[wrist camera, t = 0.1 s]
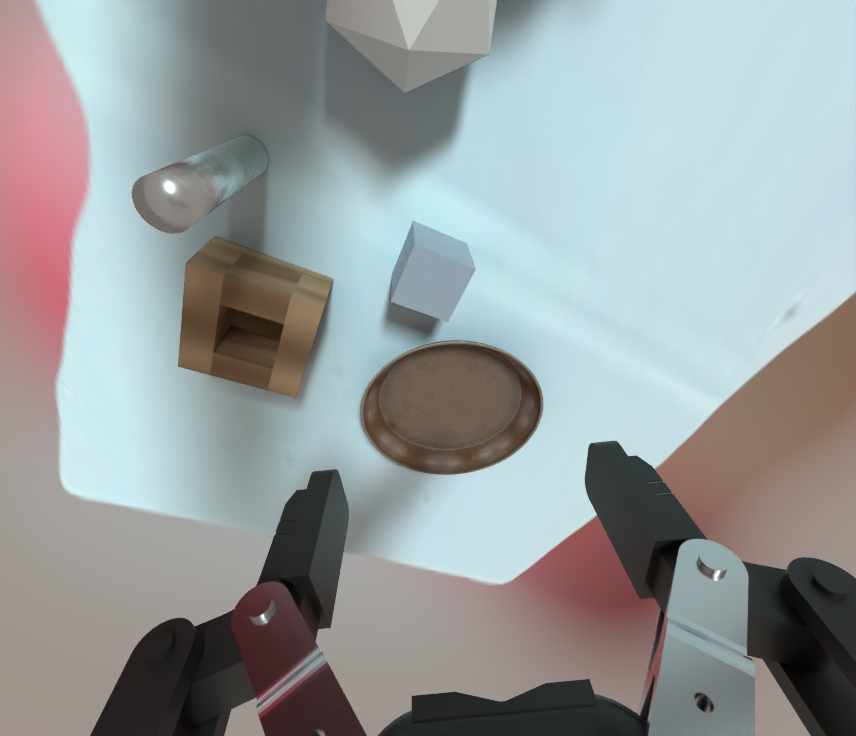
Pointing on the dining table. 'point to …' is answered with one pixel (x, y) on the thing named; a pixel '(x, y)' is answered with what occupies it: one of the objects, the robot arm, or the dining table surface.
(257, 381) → the bore block
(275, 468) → the dining table surface
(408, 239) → the slate block
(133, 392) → the dining table surface
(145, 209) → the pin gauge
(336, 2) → the die
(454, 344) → the plant saucer
